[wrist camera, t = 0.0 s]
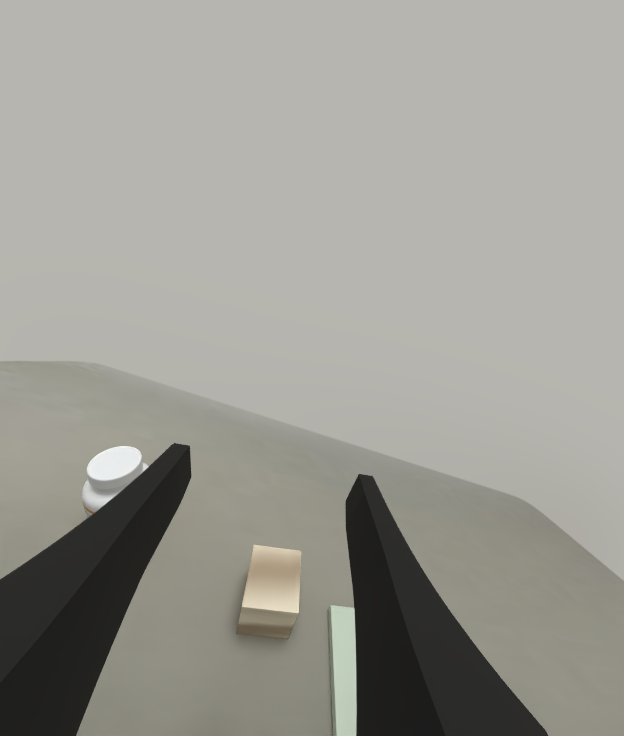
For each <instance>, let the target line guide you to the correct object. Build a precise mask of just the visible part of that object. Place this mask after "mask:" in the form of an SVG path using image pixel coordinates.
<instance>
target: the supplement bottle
mask: <svg viewBox="0 0 624 736" xmlns="http://www.w3.org/2000/svg"><path fill="white" fill-rule="evenodd" d="M147 468H148V466H147V465H146V464H145V463H143V461H142V455H141V453H140V451H139V450H137V449H136V448H133V447H129V446H120V447H114V448H111V449H108V450H105V451H103V452H101V453H100V454H98V455H97V456H95V457H94V458H93V459H92V460H91V461H90V463H89V464H88V466H87V476H88V480H87V481H86V483H85V485H84V487H83V490H82V500H83V505H84V508H85V512H86V515H87V518H89V517H90V516H91V515H92V514H94V513H95V512H96V511H97V510H99V509H100V508H101V507H102V506H104V505H105V504H106V503H107V502H108V501H110V500H111V499H112V498H113V497H115V496H116V495H117V494H118V493H119V492H121V491H122V490H123V489H124V488H125V487H126V486H128V485H129V484H130V483H131V482H132V481H133V480H134V479H136V478H137V477H138V476H139V475H140V474H141V473H142V472H144V471H145V470H146V469H147Z"/></svg>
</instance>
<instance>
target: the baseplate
mask: <svg viewBox="0 0 624 736" xmlns="http://www.w3.org/2000/svg"><path fill="white" fill-rule="evenodd" d="M328 615H329V642H330V669H331V696H332V722H333V736H356V718H357V701H356V637H355V610H354V608H349V607H341V606H332V605H331V606H330V608H329V610H328Z"/></svg>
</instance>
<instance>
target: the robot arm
mask: <svg viewBox="0 0 624 736" xmlns="http://www.w3.org/2000/svg"><path fill="white" fill-rule="evenodd" d="M190 479H191V461H190V446H188V445H182V444H176V443H174V444H172V445H171V446H170V447H169V448H168V449H167V450H166V451H165V452H164V453H163V454H162V455H161V456H160V457H159V458H158V459H157V460H156V461H154V462H153V463H152V464H151V465H150V466H149V467H148V468H147V469H146V470H145V471H144V472H142V473H141V474H140V475H139V476H138V477H137V478H136V479H134V480H133V481H132V482H131V483H130V484H129V485H128V486H126V487H125V488H124V489H123V490H122V491H121V492H119V493H118V494H117V495H116V496H115V497H113V498H112V499H111V500H110V501H108V502H107V503H106V504H105V505H104V506H102V507H101V508H100V509H99V510H97V511H96V512H95V513H94V514H92V515H91V516H90V517H89V518H87V519H86V520H85V521H83V522H82V523H81V524H79V525H78V526H77V527H75V528H74V529H73V530H71V531H70V532H69V533H67V534H66V535H64V536H63V537H62V538H60V539H59V540H58V541H56V542H55V543H53V544H52V545H51V546H49V547H48V548H46V549H45V550H43V551H42V552H40V553H39V554H38V555H36V556H35V557H33V558H32V559H30V560H29V561H27V562H26V563H24V564H23V565H22V566H20V567H19V568H17V569H16V570H14V571H12V572H11V573H9V574H8V575H6V576H5V577H3V578H2V579H0V736H76V734H77V732H78V729H79V726H80V724H81V721H82V719H83V716H84V714H85V711H86V708H87V706H88V703H89V701H90V698H91V696H92V693H93V691H94V688H95V686H96V683H97V681H98V678H99V676H100V673H101V671H102V668H103V666H104V664H105V661H106V659H107V656H108V654H109V651H110V649H111V646H112V644H113V642H114V639H115V637H116V635H117V632H118V630H119V628H120V625H121V623H122V621H123V618H124V616H125V614H126V611H127V609H128V607H129V604H130V602H131V600H132V598H133V595H134V593H135V591H136V589H137V586H138V584H139V582H140V579H141V577H142V575H143V573H144V571H145V569H146V567H147V565H148V563H149V561H150V559H151V558H152V556H153V554H154V552H155V550H156V548H157V546H158V545H159V543H160V541H161V539H162V537H163V535H164V533H165V531H166V530H167V528H168V526H169V524H170V522H171V520H172V518H173V516H174V515H175V513H176V511H177V509H178V507H179V505H180V503H181V501H182V498H183V496H184V494H185V491H186V489H187V486H188V484H189V481H190ZM346 532H347V541H348V550H349V559H350V567H351V576H352V585H353V595H354V610H355V637H356V701H357V718H356V736H548V734H547V732H546V731H545V729H544V728H543V727H542V726H541V725H540V724H539V722H538V721H537V720H536V719H535V718H534V717H533V715H532V714H531V713H530V712H529V711H528V710H527V708H526V707H525V706H524V705H523V704H522V702H521V701H520V700H519V699H518V698H517V697H516V695H515V694H514V693H513V692H512V691H511V690H510V688H509V687H508V686H507V685H506V684H505V682H504V681H503V680H502V679H501V677H500V676H499V675H498V674H497V672H496V671H495V670H494V669H493V667H492V666H491V665H490V664H489V662H488V661H487V660H486V659H485V657H484V656H483V655H482V653H481V652H480V651H479V650H478V648H477V647H476V645H475V644H474V643H473V641H472V640H471V639H470V637H469V636H468V635H467V633H466V632H465V631H464V629H463V628H462V627H461V625H460V624H459V623H458V621H457V620H456V619H455V617H454V616H453V615H452V613H451V612H450V610H449V609H448V607H447V606H446V604H445V603H444V602H443V600H442V599H441V597H440V596H439V594H438V593H437V591H436V590H435V588H434V587H433V585H432V584H431V582H430V581H429V579H428V578H427V576H426V574H425V573H424V571H423V570H422V568H421V566H420V565H419V563H418V561H417V560H416V558H415V556H414V555H413V553H412V551H411V550H410V548H409V546H408V544H407V542H406V541H405V539H404V537H403V535H402V533H401V532H400V530H399V528H398V526H397V524H396V522H395V520H394V518H393V517H392V515H391V513H390V511H389V509H388V507H387V505H386V503H385V501H384V499H383V496H382V494H381V492H380V490H379V488H378V486H377V484H376V482H375V480H374V478H373V476H368V475H362V474H359V475H358V477H357V479H356V481H355V483H354V485H353V487H352V489H351V491H350V493H349V495H348V497H347V499H346Z"/></svg>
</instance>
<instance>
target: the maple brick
mask: <svg viewBox="0 0 624 736" xmlns="http://www.w3.org/2000/svg"><path fill="white" fill-rule="evenodd" d="M300 568H301V551H296V550H288V549H281V548H274V547H266V546H259V545H254V548H253V553H252V558H251V563H250V568H249V573H248V578H247V583H246V588H245V593H244V598H243V603H242V608H241V613H240V618H239V623H238V628H237V633H236V634H245V635H255V636H264V637H274V638H283V639H288V637H289V635H290V633H291V630H292V628H293V625H294V623H295V621H296V618H297V616H298V613H299V591H300Z"/></svg>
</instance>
